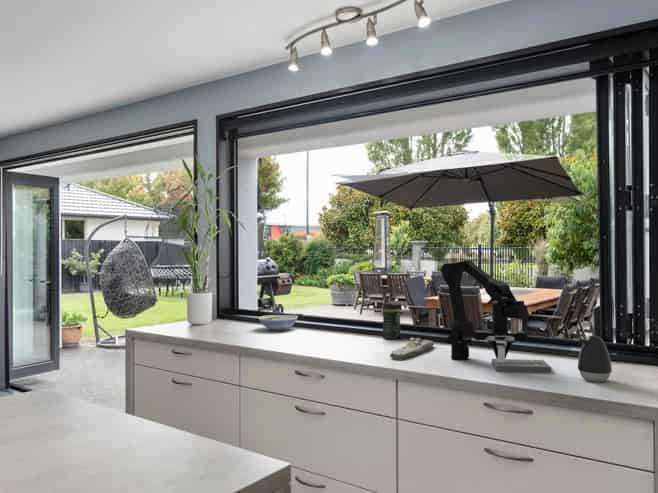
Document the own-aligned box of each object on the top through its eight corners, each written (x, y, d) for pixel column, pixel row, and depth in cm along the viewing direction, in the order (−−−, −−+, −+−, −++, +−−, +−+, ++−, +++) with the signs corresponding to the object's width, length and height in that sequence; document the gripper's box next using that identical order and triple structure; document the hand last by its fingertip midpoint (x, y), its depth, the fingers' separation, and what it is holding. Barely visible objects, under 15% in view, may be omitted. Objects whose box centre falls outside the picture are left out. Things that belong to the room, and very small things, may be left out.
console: (496, 371, 184) (496, 365, 184) (491, 364, 196) (491, 358, 196) (551, 372, 181) (551, 366, 181) (543, 365, 193) (543, 359, 193)
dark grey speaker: (571, 377, 174) (570, 333, 175) (599, 376, 175) (598, 332, 175) (588, 385, 164) (587, 338, 164) (618, 383, 165) (618, 337, 165)
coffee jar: (394, 340, 250) (393, 302, 250) (380, 338, 255) (379, 302, 255) (403, 337, 258) (402, 301, 258) (390, 335, 263) (389, 300, 263)
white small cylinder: (498, 362, 188) (497, 347, 188) (496, 360, 192) (496, 345, 192) (505, 363, 187) (505, 347, 187) (503, 360, 191) (503, 345, 191)
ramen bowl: (251, 332, 280) (251, 318, 280) (263, 326, 302) (263, 312, 302) (295, 333, 275) (294, 318, 276) (303, 327, 298) (303, 313, 298)
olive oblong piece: (384, 362, 209) (406, 366, 203) (384, 349, 208) (406, 353, 203) (418, 343, 238) (438, 347, 232) (418, 332, 237) (438, 335, 232)
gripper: (521, 314, 196) (522, 354, 196) (472, 314, 199) (472, 353, 199) (527, 318, 185) (528, 360, 185) (475, 317, 188) (476, 359, 188)
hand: (500, 358), depth 190 cm, fingers closed on white small cylinder, 2 cm apart
